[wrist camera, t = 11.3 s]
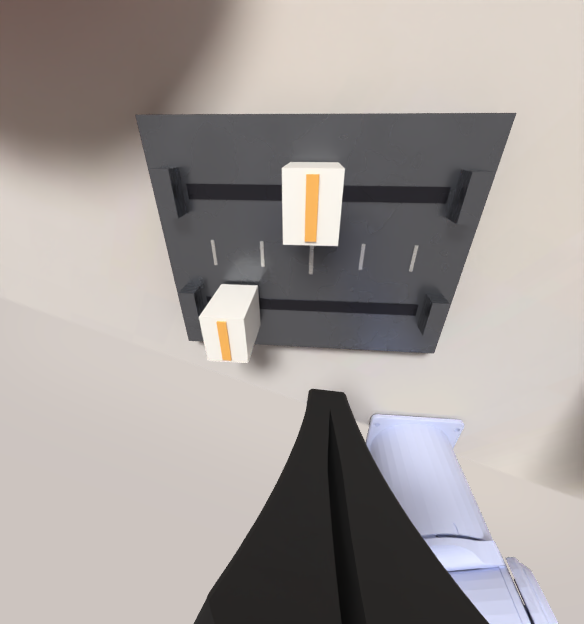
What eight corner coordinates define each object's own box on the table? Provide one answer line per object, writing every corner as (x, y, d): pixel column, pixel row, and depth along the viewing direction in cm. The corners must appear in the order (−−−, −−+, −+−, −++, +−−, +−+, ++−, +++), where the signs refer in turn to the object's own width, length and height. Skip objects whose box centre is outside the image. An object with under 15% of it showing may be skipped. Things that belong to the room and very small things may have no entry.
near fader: (333, 223, 16) (337, 246, 12) (290, 222, 16) (282, 245, 12) (338, 162, 14) (345, 168, 10) (290, 161, 14) (281, 168, 11)
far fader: (260, 324, 19) (247, 364, 16) (226, 322, 20) (207, 362, 16) (258, 285, 18) (243, 320, 14) (221, 284, 18) (198, 318, 15)
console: (428, 342, 21) (440, 364, 19) (194, 331, 22) (182, 350, 20) (501, 115, 14) (533, 110, 12) (148, 116, 15) (120, 112, 13)
